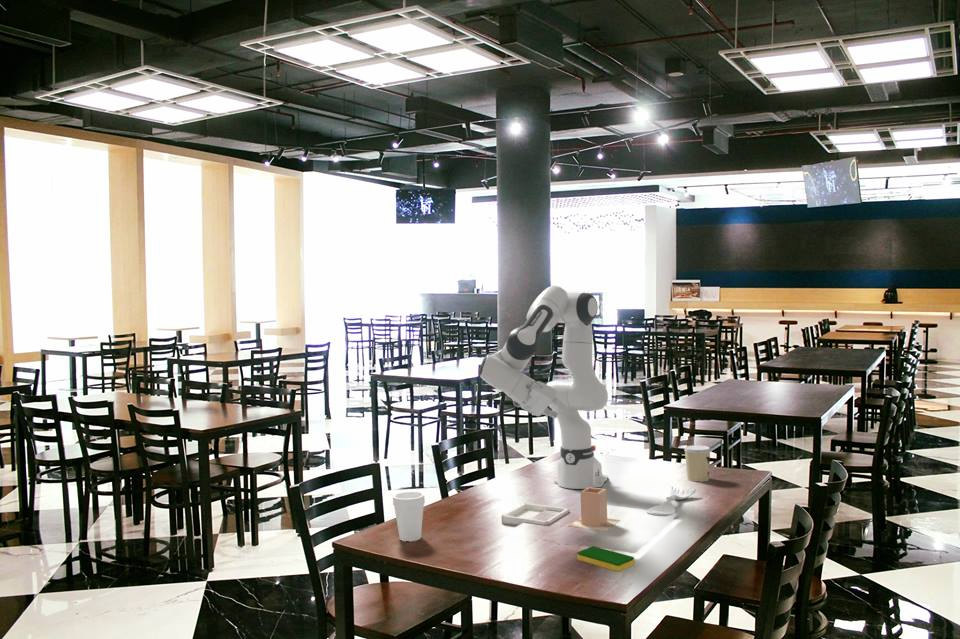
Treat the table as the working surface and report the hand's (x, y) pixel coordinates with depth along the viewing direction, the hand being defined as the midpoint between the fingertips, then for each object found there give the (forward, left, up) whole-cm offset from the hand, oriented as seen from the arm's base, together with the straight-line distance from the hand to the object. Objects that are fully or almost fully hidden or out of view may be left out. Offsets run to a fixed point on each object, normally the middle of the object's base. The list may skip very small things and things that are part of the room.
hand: (560, 412), depth 249 cm
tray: (+8, -6, -34) cm, 35 cm away
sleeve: (+8, +14, -32) cm, 36 cm away
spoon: (-23, +28, -34) cm, 50 cm away
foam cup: (+40, -32, -34) cm, 61 cm away
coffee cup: (-63, +26, -34) cm, 76 cm away
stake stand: (+8, +14, -34) cm, 37 cm away
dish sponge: (+34, +28, -34) cm, 56 cm away
